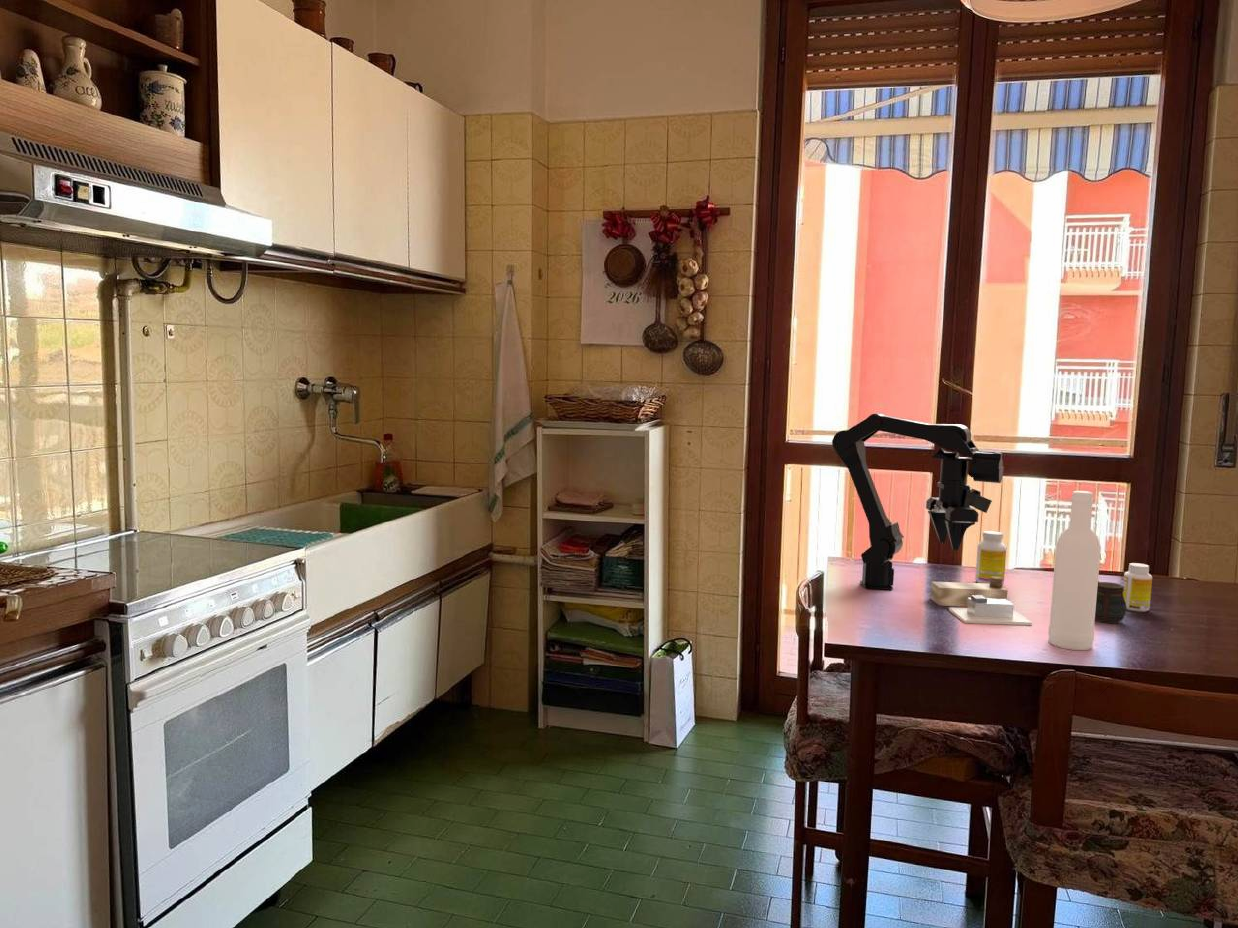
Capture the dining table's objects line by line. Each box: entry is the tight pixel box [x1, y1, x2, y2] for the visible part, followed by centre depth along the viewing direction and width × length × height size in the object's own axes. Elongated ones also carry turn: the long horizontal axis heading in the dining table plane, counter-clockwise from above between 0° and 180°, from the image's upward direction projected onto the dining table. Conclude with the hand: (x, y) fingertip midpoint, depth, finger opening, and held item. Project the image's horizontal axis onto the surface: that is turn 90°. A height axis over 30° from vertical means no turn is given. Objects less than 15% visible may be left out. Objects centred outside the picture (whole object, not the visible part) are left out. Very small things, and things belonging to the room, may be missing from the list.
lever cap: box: [966, 595, 1015, 618], centre depth 198 cm, size 8×5×4 cm, turn 88°
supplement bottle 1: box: [974, 530, 1007, 585], centre depth 230 cm, size 7×7×13 cm
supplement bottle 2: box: [1122, 562, 1153, 613], centre depth 208 cm, size 6×6×10 cm
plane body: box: [929, 577, 1008, 607], centre depth 209 cm, size 15×6×6 cm, turn 88°
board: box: [948, 607, 1033, 626], centre depth 198 cm, size 14×10×1 cm
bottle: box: [1047, 490, 1102, 651], centre depth 178 cm, size 8×8×30 cm
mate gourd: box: [1095, 580, 1128, 624], centre depth 197 cm, size 7×8×10 cm
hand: (948, 546), depth 213 cm, fingers open, 9 cm apart
